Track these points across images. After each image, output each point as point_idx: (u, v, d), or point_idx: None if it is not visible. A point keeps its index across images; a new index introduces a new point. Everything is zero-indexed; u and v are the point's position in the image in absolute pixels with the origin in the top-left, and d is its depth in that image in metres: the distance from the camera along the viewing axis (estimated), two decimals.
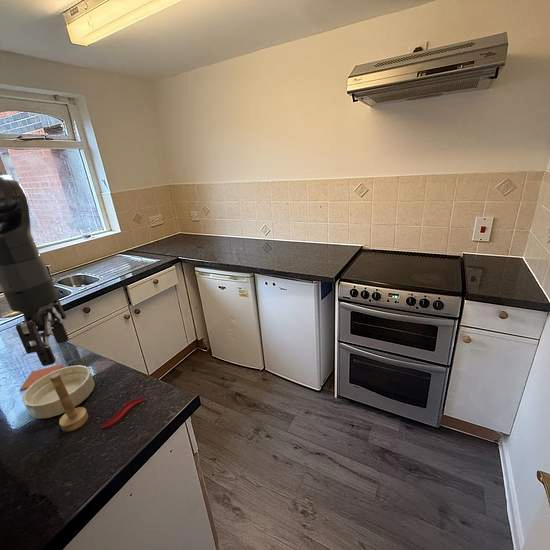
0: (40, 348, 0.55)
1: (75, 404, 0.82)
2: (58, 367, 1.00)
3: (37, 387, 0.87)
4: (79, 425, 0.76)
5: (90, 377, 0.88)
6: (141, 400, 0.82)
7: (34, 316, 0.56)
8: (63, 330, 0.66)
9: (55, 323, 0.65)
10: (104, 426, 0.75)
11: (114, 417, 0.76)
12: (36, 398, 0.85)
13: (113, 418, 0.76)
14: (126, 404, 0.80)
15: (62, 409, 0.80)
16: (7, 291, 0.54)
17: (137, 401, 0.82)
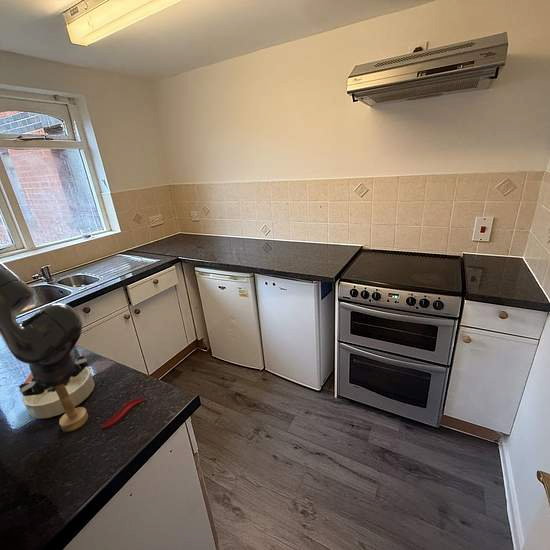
0: None
1: (75, 404, 0.82)
2: None
3: None
4: (79, 425, 0.76)
5: (90, 377, 0.88)
6: (141, 400, 0.82)
7: (34, 385, 0.64)
8: None
9: None
10: (104, 426, 0.75)
11: (114, 417, 0.76)
12: (36, 398, 0.85)
13: (113, 418, 0.76)
14: (126, 404, 0.80)
15: (62, 409, 0.80)
16: None
17: (137, 401, 0.82)
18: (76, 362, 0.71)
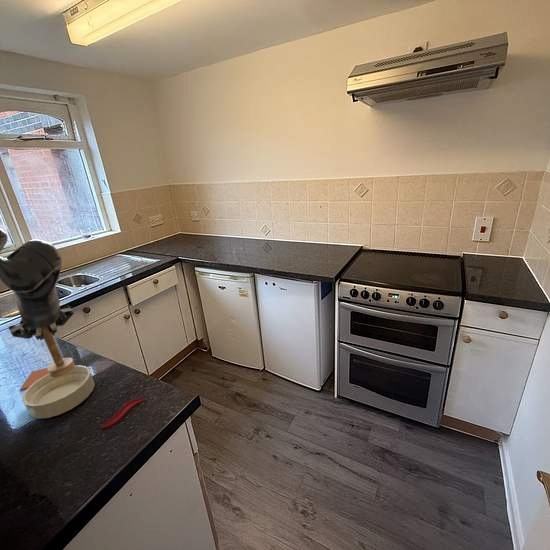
0: (27, 338, 0.75)
1: (75, 404, 0.82)
2: None
3: (37, 387, 0.87)
4: (66, 371, 0.82)
5: (90, 377, 0.88)
6: (141, 400, 0.82)
7: (22, 327, 0.71)
8: (51, 331, 0.80)
9: (50, 325, 0.79)
10: (104, 426, 0.75)
11: (114, 417, 0.76)
12: (36, 398, 0.85)
13: (113, 418, 0.76)
14: (126, 404, 0.80)
15: (62, 409, 0.80)
16: None
17: (137, 401, 0.82)
18: (62, 310, 0.77)
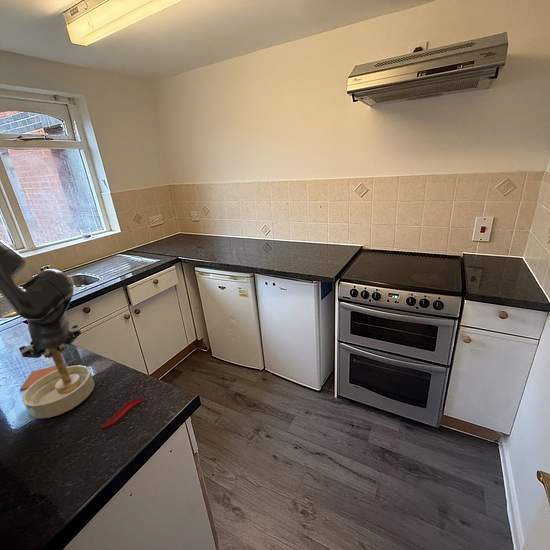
0: None
1: (75, 404, 0.82)
2: None
3: (37, 387, 0.87)
4: (73, 389, 0.84)
5: (90, 377, 0.88)
6: (141, 400, 0.82)
7: (32, 348, 0.73)
8: (59, 350, 0.82)
9: None
10: (104, 426, 0.75)
11: (114, 417, 0.76)
12: (36, 398, 0.85)
13: (113, 418, 0.76)
14: (126, 404, 0.80)
15: (62, 409, 0.80)
16: None
17: (137, 401, 0.82)
18: (70, 330, 0.79)
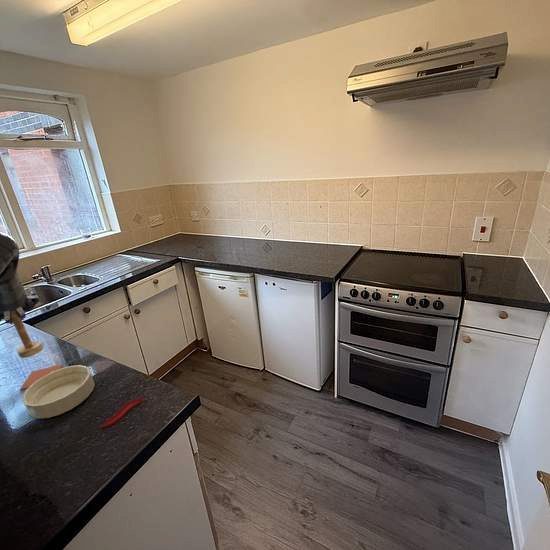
0: None
1: (75, 404, 0.82)
2: (58, 367, 1.00)
3: (37, 387, 0.87)
4: (34, 353, 0.91)
5: (90, 377, 0.88)
6: (141, 400, 0.82)
7: None
8: None
9: None
10: (103, 425, 0.75)
11: (113, 417, 0.76)
12: (36, 398, 0.85)
13: (112, 418, 0.76)
14: (126, 404, 0.80)
15: (62, 409, 0.80)
16: None
17: (137, 401, 0.82)
18: (28, 297, 0.86)
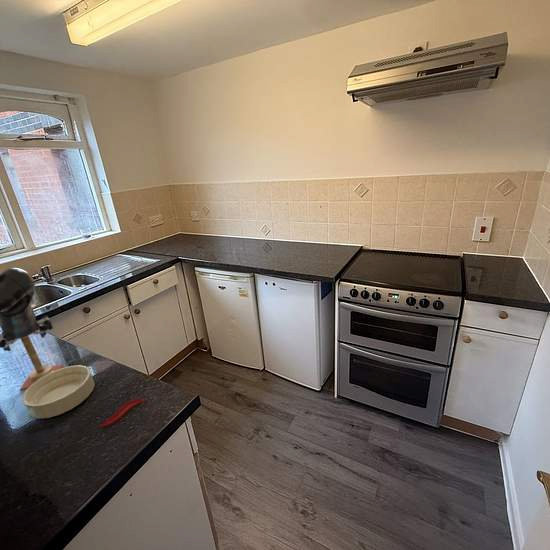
0: None
1: (75, 404, 0.82)
2: (58, 367, 1.00)
3: (37, 387, 0.87)
4: None
5: (90, 377, 0.88)
6: (141, 401, 0.82)
7: (4, 336, 0.83)
8: (41, 335, 0.93)
9: None
10: (103, 425, 0.75)
11: (113, 417, 0.76)
12: (36, 398, 0.85)
13: (112, 418, 0.76)
14: (126, 404, 0.80)
15: (62, 409, 0.80)
16: None
17: (137, 401, 0.81)
18: None
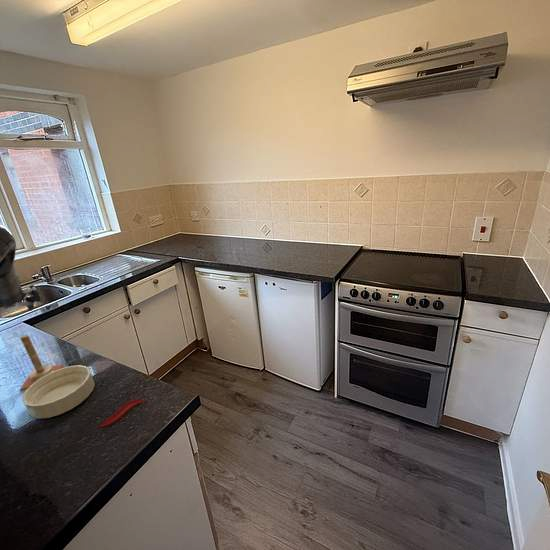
0: None
1: (75, 404, 0.82)
2: (58, 367, 1.00)
3: (37, 387, 0.87)
4: None
5: (90, 377, 0.88)
6: (141, 401, 0.82)
7: None
8: (28, 307, 0.87)
9: (27, 300, 0.86)
10: (102, 425, 0.75)
11: (113, 416, 0.76)
12: (36, 398, 0.85)
13: (112, 417, 0.76)
14: (126, 404, 0.80)
15: (62, 409, 0.80)
16: None
17: (137, 402, 0.81)
18: None
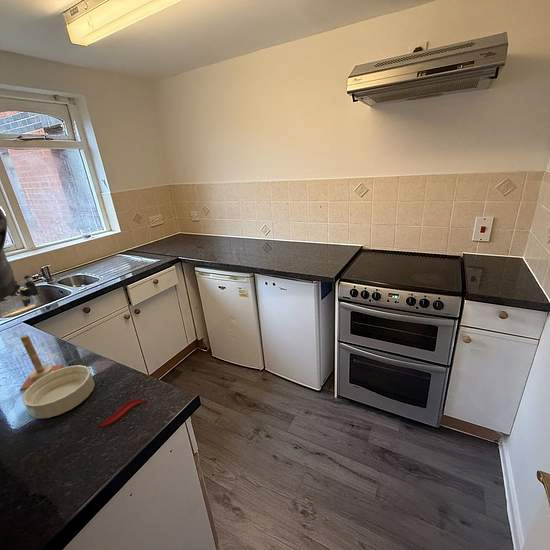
0: None
1: (75, 404, 0.82)
2: (58, 367, 1.00)
3: (37, 387, 0.87)
4: None
5: (90, 377, 0.88)
6: (141, 401, 0.82)
7: None
8: (23, 302, 0.73)
9: (22, 294, 0.72)
10: (102, 424, 0.75)
11: (112, 416, 0.76)
12: (36, 398, 0.85)
13: (111, 417, 0.76)
14: (126, 404, 0.80)
15: (62, 409, 0.80)
16: None
17: (137, 402, 0.81)
18: None
